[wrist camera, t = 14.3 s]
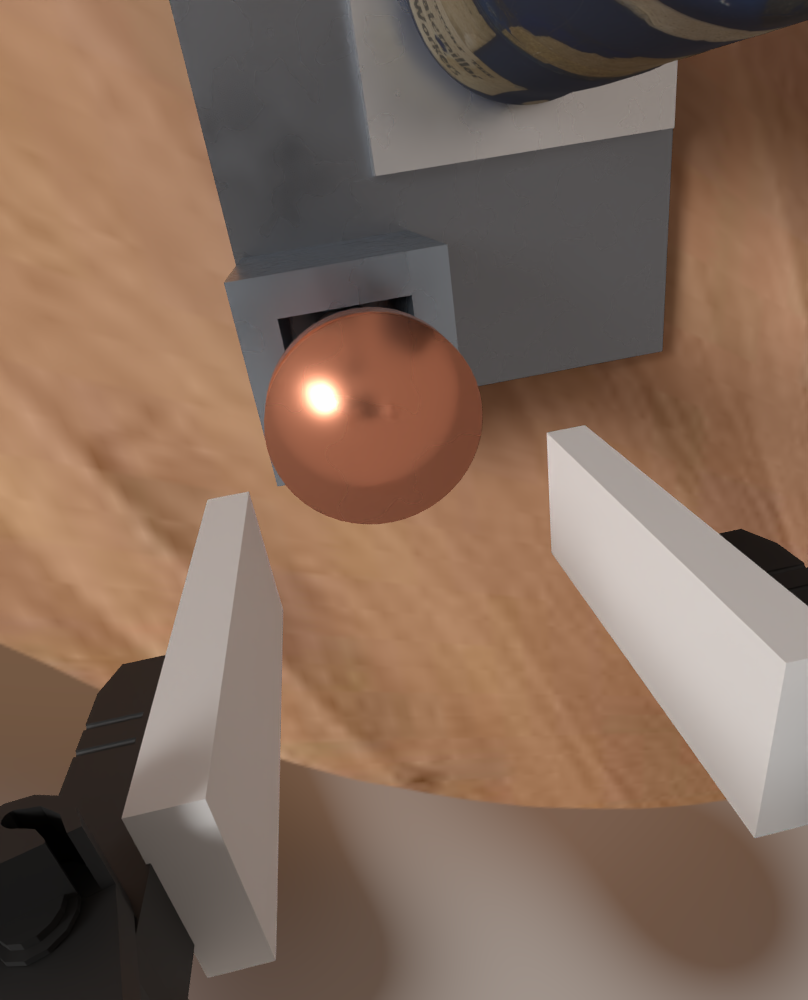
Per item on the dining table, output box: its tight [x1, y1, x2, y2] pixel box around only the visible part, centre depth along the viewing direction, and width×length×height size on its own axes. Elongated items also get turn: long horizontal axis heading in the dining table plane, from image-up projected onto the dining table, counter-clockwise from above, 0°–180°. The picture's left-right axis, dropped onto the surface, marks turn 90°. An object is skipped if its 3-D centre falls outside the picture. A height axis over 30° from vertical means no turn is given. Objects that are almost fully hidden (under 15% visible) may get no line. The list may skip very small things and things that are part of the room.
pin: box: [264, 306, 483, 524], centre depth 21 cm, size 6×6×9 cm
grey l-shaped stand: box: [169, 0, 678, 486], centre depth 24 cm, size 22×20×10 cm
